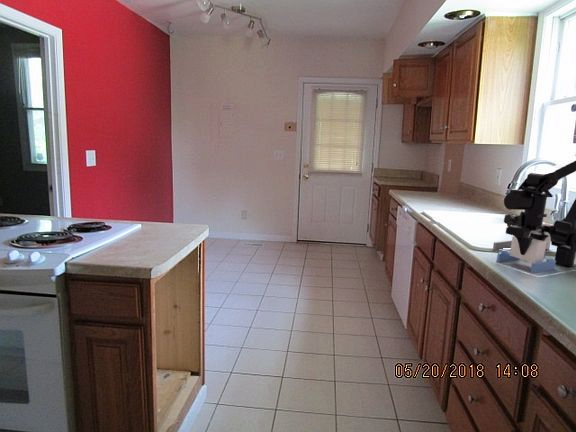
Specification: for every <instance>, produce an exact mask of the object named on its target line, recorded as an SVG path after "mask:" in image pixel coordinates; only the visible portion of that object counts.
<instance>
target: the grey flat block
mask: <svg viewBox="0 0 576 432" xmlns="http://www.w3.org/2000/svg"><path fill="white" fill-rule="evenodd" d="M511 243H512V239H511V240H503V241H495V242H493V244H492V245H493V247H492V250H493V251H496V252H497V253H501V250H499V249H503V248H511ZM509 251H510V250H508V252H509ZM546 251H547V250H546V249H545V253H544V258H545V255H546Z"/></svg>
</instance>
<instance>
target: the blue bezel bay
mask: <svg viewBox="0 0 576 432" xmlns="http://www.w3.org/2000/svg"><path fill="white" fill-rule="evenodd" d="M496 262H497V263H499V264H503V265H506V266H509V267H512V268H515V269H518V270H521V271H524V272H527V273H530V274H534V273H540V272H546V271H552V270H555V268H556V265H557V264H556V260H555V259H554V258H551V257H550V258H546V260H543V262H537V263H533V262H530V261H526V260H523V259H520V258H516V257H513V256H510V251H509V252H508V250H501V252H497V256H496Z"/></svg>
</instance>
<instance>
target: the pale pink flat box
mask: <svg viewBox="0 0 576 432" xmlns="http://www.w3.org/2000/svg"><path fill="white" fill-rule="evenodd" d="M511 240H512V243H511V249H510V256H513V257H516V258H520V259H523V260H526V261H529V262H533V263H537V262H544V258H545V257H544V253H545V254H546V252H545V247H546V242H545V241H541V240H537V239H533V240H532V242H531V244H530V246H529V248H528V249H527V251H526V253H525V255H521V253H520V248H519V243H518V240H517V238H516V237H515V236H513V235H512V237H511Z"/></svg>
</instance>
